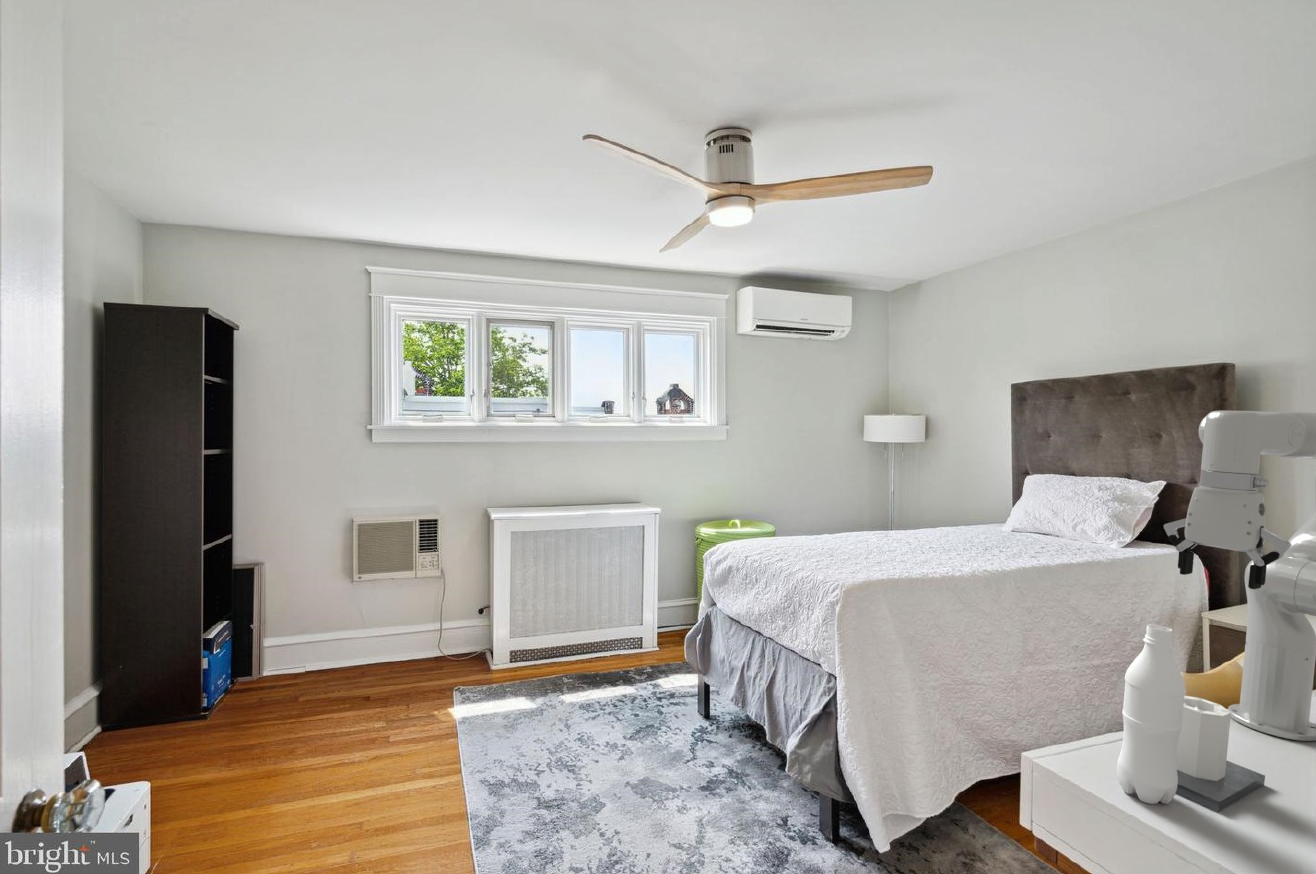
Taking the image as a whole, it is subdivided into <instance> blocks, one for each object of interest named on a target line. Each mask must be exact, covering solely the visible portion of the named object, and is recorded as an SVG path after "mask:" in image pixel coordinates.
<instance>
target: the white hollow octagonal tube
mask: <svg viewBox="0 0 1316 874" xmlns="http://www.w3.org/2000/svg"><path fill="white" fill-rule="evenodd" d="M1195 706H1199V707H1202V708H1204V709H1206V710H1207V711H1203V710H1199V709H1196V708H1193V707H1195ZM1231 718H1232V717H1231V712H1229V711H1228V709H1227V708H1225V707H1224V706H1223V705H1221V704H1219V703H1216V702H1214V701H1210V700H1208V699H1204V698H1201V697H1195V696H1190V695H1184V706H1183V717H1182V729H1181V731H1180V735H1179V738H1178V743H1177V749H1176V767H1177V770H1179V771H1181V772H1184V773H1186V774H1188V775H1191V776H1193V777H1196V778H1202V779H1208V780H1214V781H1218V780H1220V779H1221V778H1223V777H1225V770H1226V760H1227V757H1228V748H1229V747H1228V746H1229V739H1230V738H1229V737H1230V736H1229V735H1230V725H1231Z"/></svg>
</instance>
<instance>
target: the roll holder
mask: <svg viewBox="0 0 1316 874" xmlns="http://www.w3.org/2000/svg"><path fill="white" fill-rule="evenodd" d="M1193 708H1196V709H1199V710H1203V711H1207V710H1206V709H1204V708H1202V707H1199V706H1195V707H1193ZM1177 775H1178V784H1177V790H1176V793H1175V794H1176V795H1180V796H1181V797H1183V798H1185V799H1188V800H1190V801H1191V802H1195V803H1197V804H1199V805H1201V806H1203V807H1205V808H1208V809H1210V810H1212V811H1215V812H1216V813H1219V812H1221V811H1223V810H1225V809H1227V808H1228V807H1230V806H1231V805H1233V804H1235V803H1237V802H1238V801H1240V800H1241V799H1243V798H1245V797H1246V796H1248V795H1250V794H1252V793H1254V792H1255V791H1257V790H1258V789H1260V788H1262V787H1264V786H1265V780H1266V775H1265V774H1261V773H1259V772H1257V771H1255V770H1252V769H1249V768H1247V767H1244V766H1242V765H1239V764H1236V763H1234V762H1231V761H1229V760H1227V759H1226V770H1225V777H1223V778H1221V779H1220V780H1218V781H1214V780H1208V779H1202V778H1196V777H1193V776H1191V775H1188V774H1186V773H1184V772H1181V771H1179V770H1177Z"/></svg>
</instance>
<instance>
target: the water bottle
mask: <svg viewBox="0 0 1316 874" xmlns="http://www.w3.org/2000/svg"><path fill="white" fill-rule="evenodd" d="M1145 631H1146V634H1145V635H1144V638H1143V640H1142V641H1143V642H1144V646H1143V648H1142V651H1141V652H1140V653H1139V654H1138V655H1137V656H1136V657H1135V659H1134V660H1133V661H1132V662H1131V664H1130V665H1129V667H1128V668H1127V670H1126V671H1125V676H1124V681H1125V685H1124V694H1123V695H1124V696H1123V707H1122V711H1121V712H1122V719H1123V736H1122V744H1121V750H1120V753H1119V756H1118V759H1117V763H1116V775H1117V779H1118V782H1119V785H1120V786H1121V789H1122V790H1123V791H1124V792H1125V793H1126V794H1129V795H1132V794H1134V793H1136V794H1137V797H1138V798H1139V800H1140V801H1142V802H1144V803H1146V804H1150V805H1156V804H1158V803H1159V802H1160V803H1162V804H1164V805H1165V804H1169V803H1170V802H1171V801H1172V800H1173V799H1174V797H1175V795H1176V794H1177V793H1176V790H1177V784H1178V775H1177V767H1176V749H1177V743H1178V738H1179V735H1180V731H1181V729H1182V717H1183V706H1184V696H1186V693H1187V691H1186V683H1185V680H1184V677H1183V675H1182V674H1181V673H1182V672H1181V671H1180V669H1179V667H1178V665H1177V664H1176V662H1175V659H1174V657H1173V651H1172V649H1173V648H1174V646H1175V645H1174V643H1173V642H1174V641H1173V640H1172V639H1173V632H1174V631H1173V629H1172V628H1170V627H1167V626H1164V625H1159V624H1150V623H1149V624H1147V625H1146V630H1145Z"/></svg>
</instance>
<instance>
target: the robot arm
mask: <svg viewBox="0 0 1316 874" xmlns="http://www.w3.org/2000/svg"><path fill="white" fill-rule="evenodd" d="M1198 438H1199V440H1200V442H1201V443H1202V454H1201V464H1200V465H1201V466H1200V476H1199V478H1200V479H1199V484H1198V485H1199V486H1197V487H1196V486H1195V487H1194V489H1193V492H1192V494H1191V498H1190V501H1189V504H1188V507H1187V508H1188V509H1187V513H1186V517H1185V518H1182V519H1178V520H1175V521H1171V522H1168V523H1165V524H1163V529H1164V531H1165V533H1166V535H1167V536H1168V540H1169V541H1170V542H1171V544H1172V545H1173V546H1174V547H1175V549H1176V551H1177V552H1178V560H1177V568H1178V569H1179V574H1180V575H1182V576H1183V575H1185V576H1186V575H1191V574H1192V573H1193V571H1194V570H1193V569H1194V558H1195V553H1194V551H1192V549H1194V548H1195V547H1196V546H1197V545H1200V546H1201V545H1202V546H1205V547H1211V548H1219V549H1223V550H1231V551H1235V552H1244V553H1246V555H1247V556H1248V557H1249V558H1250V559H1251V560H1250V561H1249V562H1248V564H1247V566H1246V567H1245V569H1244V570H1245V571H1244V586H1245V592H1246V599H1247V601H1246V602H1247V621H1246V622H1247V623H1246V635H1245V643H1244V644H1245V645H1244V655H1243V665H1242V677H1241V686H1240V696H1239V698H1240V699H1239V703H1232V704H1231V705H1229V706H1228V709H1227V710H1228V711H1229V712H1231V717H1230V718H1232V720H1234V721H1236V722H1238V723H1240V724H1241V725H1243V726H1245V727H1248V728H1250V729H1253V730H1256V731H1259V732H1261V733H1263V734H1267V735H1270V736H1274V737H1278V738H1284V739H1287V740H1293V741H1300V742H1312V741H1316V725H1314V724H1313V723H1311V722H1310V717H1311V706H1312V699H1313V698H1312V696H1313V688H1314V676H1315V668H1316V667H1315V666H1316V632H1315V629H1314V628H1313V625H1312V624H1311V623H1310V620H1309V619H1308V618H1307V615H1309V616H1312V617H1316V471H1315V472H1314V476H1313V497H1314V498H1313V502H1314V513H1313V515H1311V517H1309V519H1308V520H1307V521H1306V522H1305V523H1304V524H1302V525H1301V526H1300V528H1299V529H1297V530H1296V531H1295V533H1294V534H1292V536H1291V537H1290V538H1289V539H1288V540H1287V539H1284V538H1282V537H1281V536H1279V535H1277V534H1275V533H1274V532H1273V531H1271V530H1269V529H1267V511H1266V501H1265V497H1264V494H1263V493H1260V492H1257V491H1259V489H1260V488H1268V487H1269V483H1270V481H1269V479H1265V478H1264V479H1263V478H1262V477H1261V475H1260V474H1259V472H1260V461H1261V455H1265V456H1267V455H1268V456H1273V457H1280V458H1289V459H1304V460H1305V459H1306V460H1316V412H1302V411H1301V412H1300V411H1299V412H1298V411H1297V412H1296V411H1295V412H1294V411H1293V412H1291V411H1290V412H1287V411H1286V412H1284V411H1283V412H1282V411H1263V410H1262V411H1258V410H1255V411H1254V410H1214V411H1210V412H1209V413H1208V414H1206V416H1204V418H1202V420H1201V422H1200V424H1199V426H1198ZM1180 528H1184V538H1185V539H1183V538H1182V537H1181V536H1180V535H1179V534H1178V533H1179V532H1178V529H1180ZM1266 542H1269V543H1271V544H1272V545H1274V547H1273V549H1272V550H1271V551H1270V552H1268V553H1265V552H1264V551H1263V550H1264V549H1265V547H1266Z"/></svg>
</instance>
